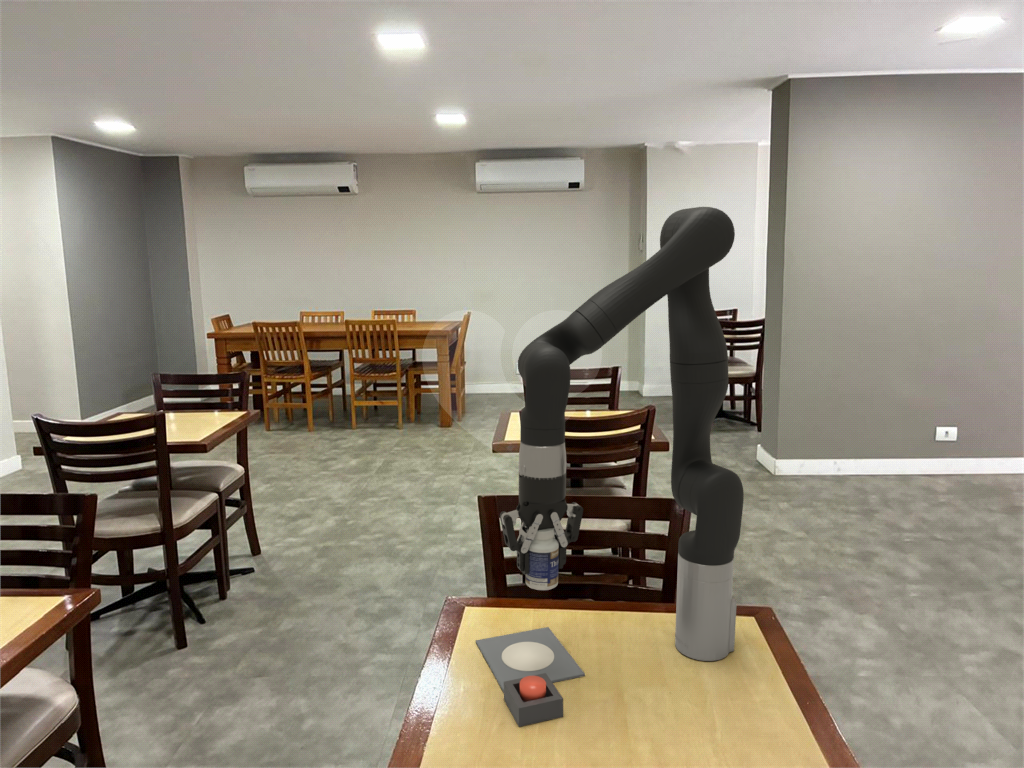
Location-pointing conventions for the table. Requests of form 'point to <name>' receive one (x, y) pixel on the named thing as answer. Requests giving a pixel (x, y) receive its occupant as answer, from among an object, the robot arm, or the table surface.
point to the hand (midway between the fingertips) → (541, 569)
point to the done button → (532, 688)
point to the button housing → (533, 703)
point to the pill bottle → (543, 561)
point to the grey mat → (528, 656)
